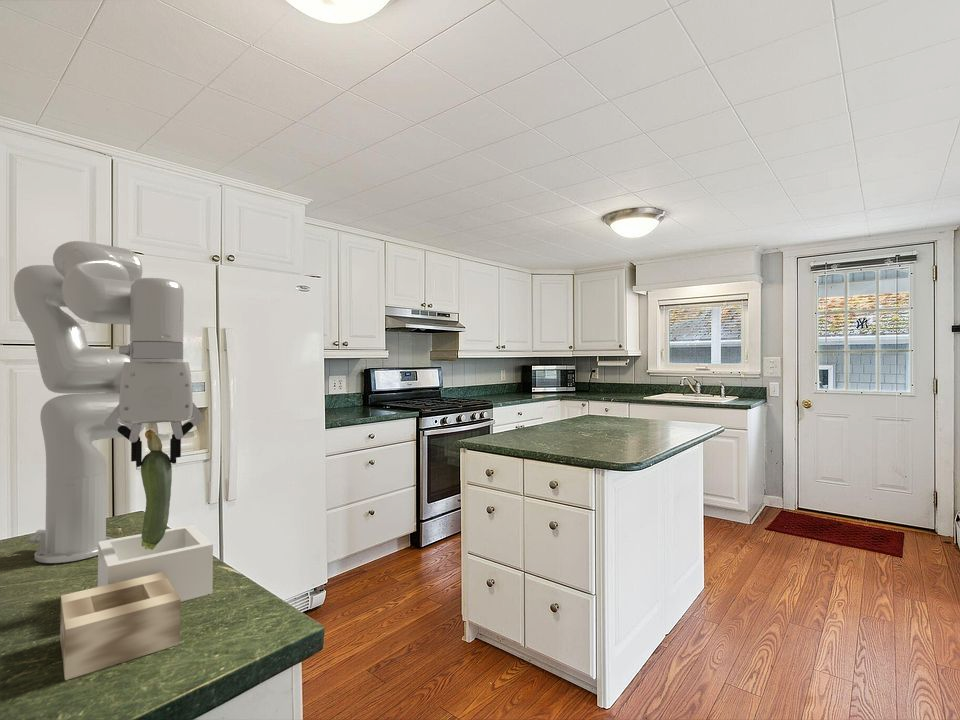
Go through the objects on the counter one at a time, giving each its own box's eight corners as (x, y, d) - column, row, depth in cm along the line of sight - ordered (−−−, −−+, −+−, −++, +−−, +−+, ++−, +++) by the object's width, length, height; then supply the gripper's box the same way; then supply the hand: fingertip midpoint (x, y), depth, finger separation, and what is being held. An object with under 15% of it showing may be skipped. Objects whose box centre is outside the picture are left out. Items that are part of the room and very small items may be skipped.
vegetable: (165, 543, 87) (166, 426, 88) (175, 548, 85) (176, 428, 85) (135, 550, 84) (137, 428, 84) (144, 556, 81) (146, 430, 81)
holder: (65, 680, 60) (65, 629, 60) (60, 639, 69) (60, 595, 69) (180, 644, 68) (180, 599, 68) (162, 611, 77) (163, 572, 77)
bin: (107, 621, 74) (107, 566, 74) (97, 589, 85) (98, 541, 85) (212, 593, 84) (212, 544, 84) (192, 568, 94) (192, 524, 94)
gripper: (92, 352, 77) (91, 474, 77) (216, 353, 86) (216, 462, 86) (95, 353, 83) (94, 466, 83) (210, 354, 93) (210, 455, 92)
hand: (156, 462), depth 84 cm, fingers closed on vegetable, 4 cm apart
